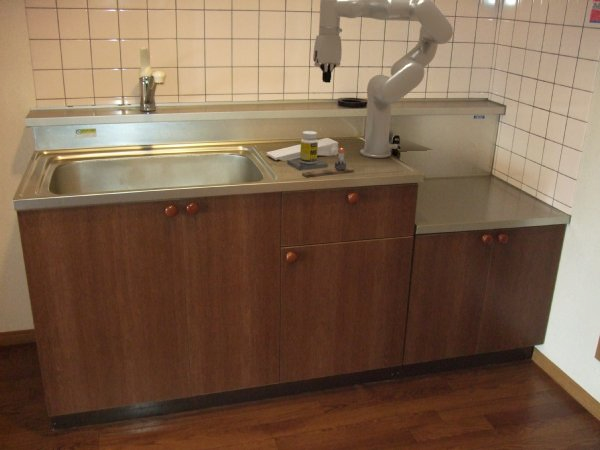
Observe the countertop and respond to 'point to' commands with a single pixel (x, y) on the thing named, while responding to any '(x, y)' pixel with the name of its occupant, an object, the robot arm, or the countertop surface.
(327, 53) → the robot arm
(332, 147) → the wall bracket
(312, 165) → the press bed
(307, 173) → the lever rail
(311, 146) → the supplement bottle
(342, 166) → the press lever
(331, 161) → the countertop surface
